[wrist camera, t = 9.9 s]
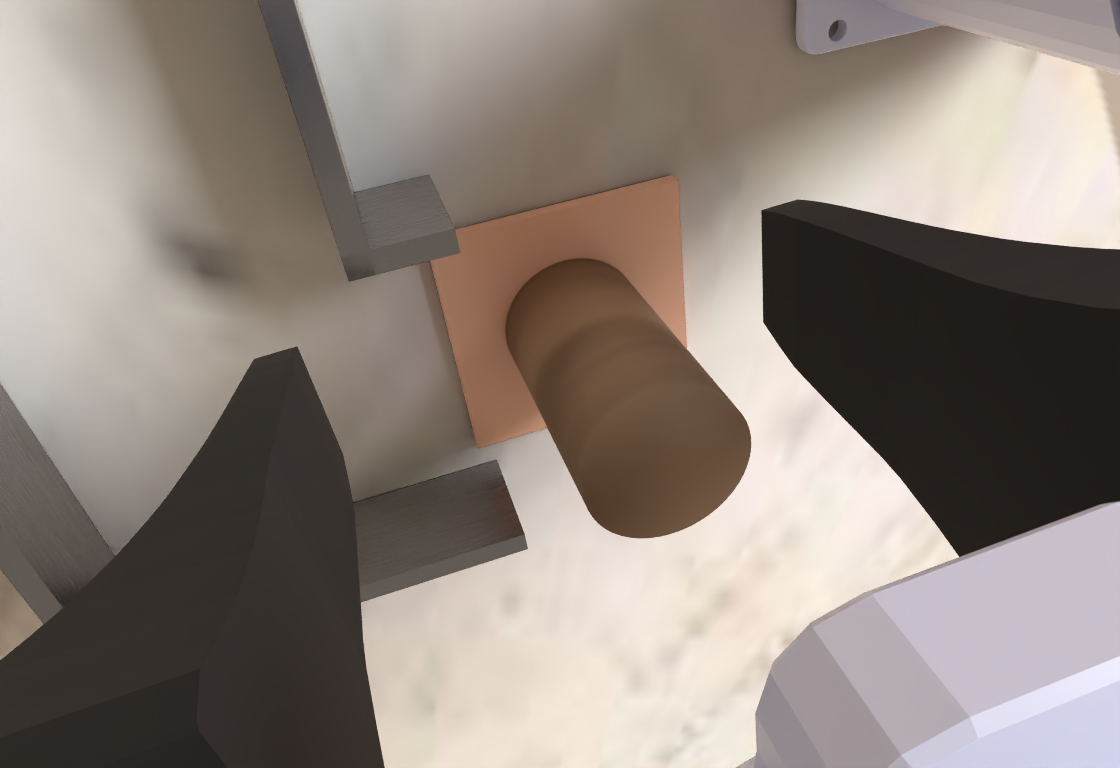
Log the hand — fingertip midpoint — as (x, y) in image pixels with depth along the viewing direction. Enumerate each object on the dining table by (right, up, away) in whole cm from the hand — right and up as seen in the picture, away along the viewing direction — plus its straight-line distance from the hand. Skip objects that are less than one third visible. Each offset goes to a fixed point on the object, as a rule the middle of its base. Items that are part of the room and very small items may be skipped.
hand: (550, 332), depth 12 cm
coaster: (0, +1, +12) cm, 12 cm away
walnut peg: (+1, +1, +11) cm, 11 cm away
